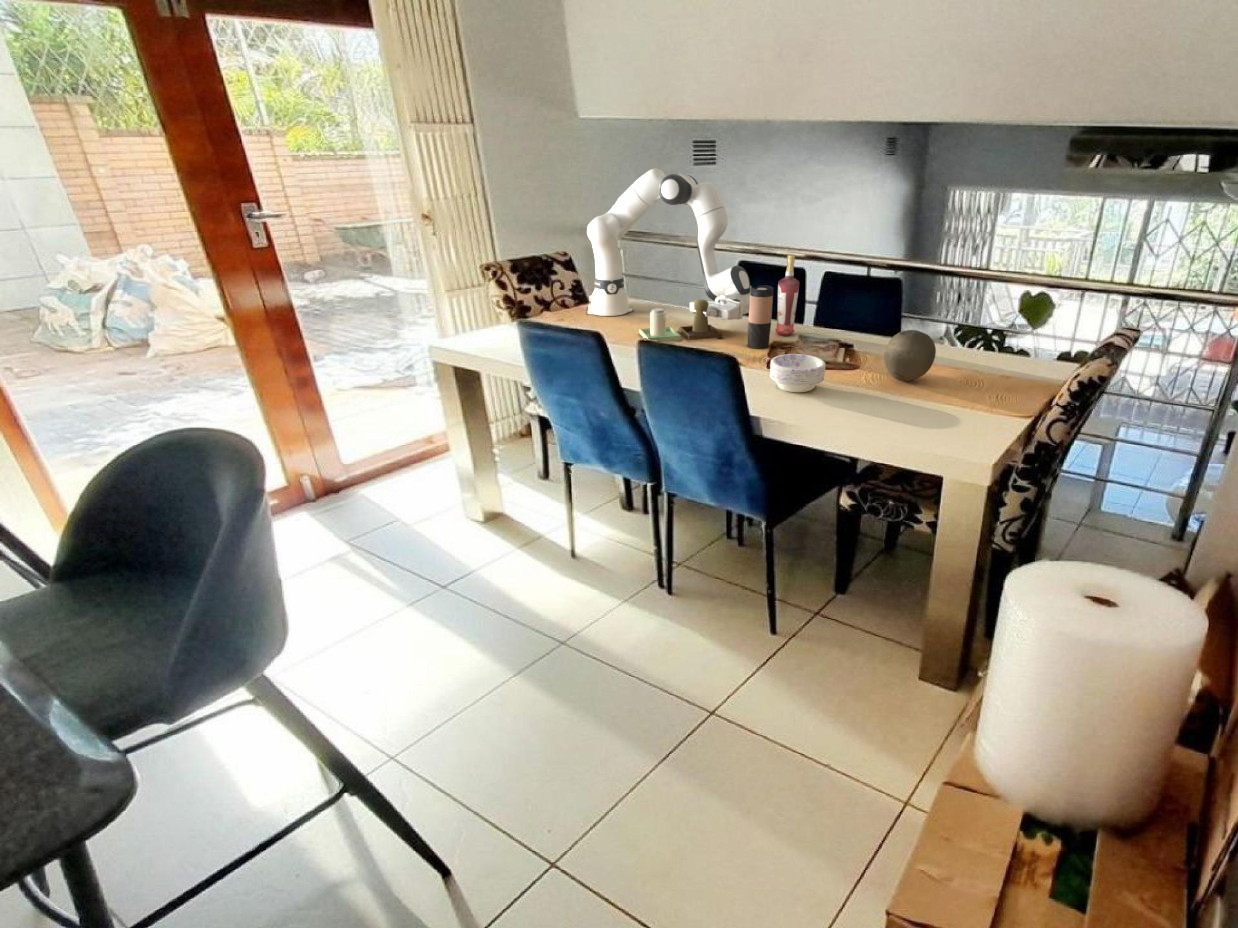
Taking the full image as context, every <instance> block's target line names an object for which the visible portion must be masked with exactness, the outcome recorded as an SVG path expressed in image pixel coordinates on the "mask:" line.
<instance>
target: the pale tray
mask: <svg viewBox="0 0 1238 928" xmlns="http://www.w3.org/2000/svg"><path fill="white" fill-rule="evenodd" d="M638 330H639V331H638V332H639V334H640V336H641V337H642V338H643V339H644V338H647V339H650V340H657V341H658V342H669V341H682V335H681V334H680V332H678V331H677V330H676V329H674V328H673V327H672V326H665V336H662V337H650V327H648V328H647V327H646V328H639V329H638Z"/></svg>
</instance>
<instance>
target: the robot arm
mask: <svg viewBox="0 0 1238 928" xmlns="http://www.w3.org/2000/svg"><path fill="white" fill-rule="evenodd" d="M721 198H722V197H721V196H720V194H719V192H718V190H717V189H716V186H715V185H714V184H713V183H711V182H709V181H704V182H700V183H698V181H697V180H696V179H695V178H694V177H693V176H691V175H689V174H686V173H685V174H684V173H672V174H667V175H666V174H665V172H663V171H662V170H661V169H658V168H650V169H649V170H647V171H646V172H645V173H643V174H642V175H640V176H639V177H638V178H637V179H636V180H635V181H634V182H633V183H632V184H631V185H630V186H629V187H628V188H626V189H625V191H624V192H623V193H622V194H621V195H620V196H619V197H618V198H617V200H616V202H615V203H614V204H613V205H612V206H611V208H610V209H609V210H608V211H607V212H606V213H604V214H602V215H598V216H595V217H594V218H593V219H592V220H591V221H590V222H589V223H588V225H587V228H586V235H587V238H588V239H589V241H590V243H591V247H592V251H593V256H594V267H595V268H594V269H595V271H594V272H595V278H594V282H593V283H594V290H593V292H592V294H590V295H588V301H589V302H590V303H589V304H588V308H587V314H588V315H594V316H602V317H614V316H622V315H625V314H627V313H630V312H633V308H632V307H629V296H628V295H629V294H628V293H629V292H628V291H627V290H626V288H624V287H625V280H624V279H625V278H624V277H623V257H622V255H621V253H620V248H619V242H618V241H619V240H621V239H622V238H624V236H625V235H626V234H627V233H628V232H629V231H630V230H631V229H632V227H634V225H635V224H637V223H636V222H637V221H639V219H641V218H642V217H643V216H644V215H645V214H646V213H647V212H648V211H649V210H650V209H651V208H652V207H653V206H654V205H656V203H657V202H658V201H660V200H662V202H664V203H665V204H667V205H670V206H685V205H686V206H687V205H688V206H689V207H690V208H691V209H692V211H693V214H694V217H695V220H696V224H697V232H698V233H697V238H696V246H697V252H698V258H699V261H700V267H701V273H702V277H703V289H704V293H705V294H706V296H707V298H709V299H710V300H708V299H705V300H706V301H707V302H708V308H707V311H704V312H703V315H704V316H705V317H713V318H714V317H715V318H718V319H720V320H726V321H734V320H742V319H743V315H746V314H749V306H750V292H751V287H752V285H751V280H750V276H749V273H748V271H747V270H745V268H743V267H742V266H740V265H734V266H731V267H729V268H726V269H725V270H722V271H720V272H719V271H718V267H717V261H716V257H715V247H716V245H717V242H719V240H720V238H721V237H722V236H723V235H724V233H725V232H726V230H727V227H728V224H729V220H728V214H727V211H726V209H725V206H724V203H723V200H722V199H721ZM695 301H696V300H692V301H690V302H689V311H690V313H692V314H693V315H695V308H694V302H695Z"/></svg>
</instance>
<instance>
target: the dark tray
mask: <svg viewBox="0 0 1238 928" xmlns="http://www.w3.org/2000/svg"><path fill="white" fill-rule="evenodd" d="M708 327H709V331H707V332H694V331H692V329H693V325H686V326H679V327H678V331H679V333H681V334H682V335H683V336H684V337H685V338H686V339H688V341H693V340H707V339H717V340H722V339H723V333H722V332H721V331H720V330H718V329H717V328H716V327H714V326H713V325H712V324H708Z"/></svg>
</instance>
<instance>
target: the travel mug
mask: <svg viewBox="0 0 1238 928" xmlns="http://www.w3.org/2000/svg"><path fill="white" fill-rule="evenodd" d="M773 298H774V287H773V286H770V285H758V286H757V287H754V286H751V292H750V306H749V313H748V324H747V347H749V348H751V349H754V350H755V349H756V350H761V349H762V350H763V349H767V348H769V345H770V339H771V338H770V337H771V327H772V318H773V317H772V316H773V302H774V301H773V300H774V299H773Z"/></svg>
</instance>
